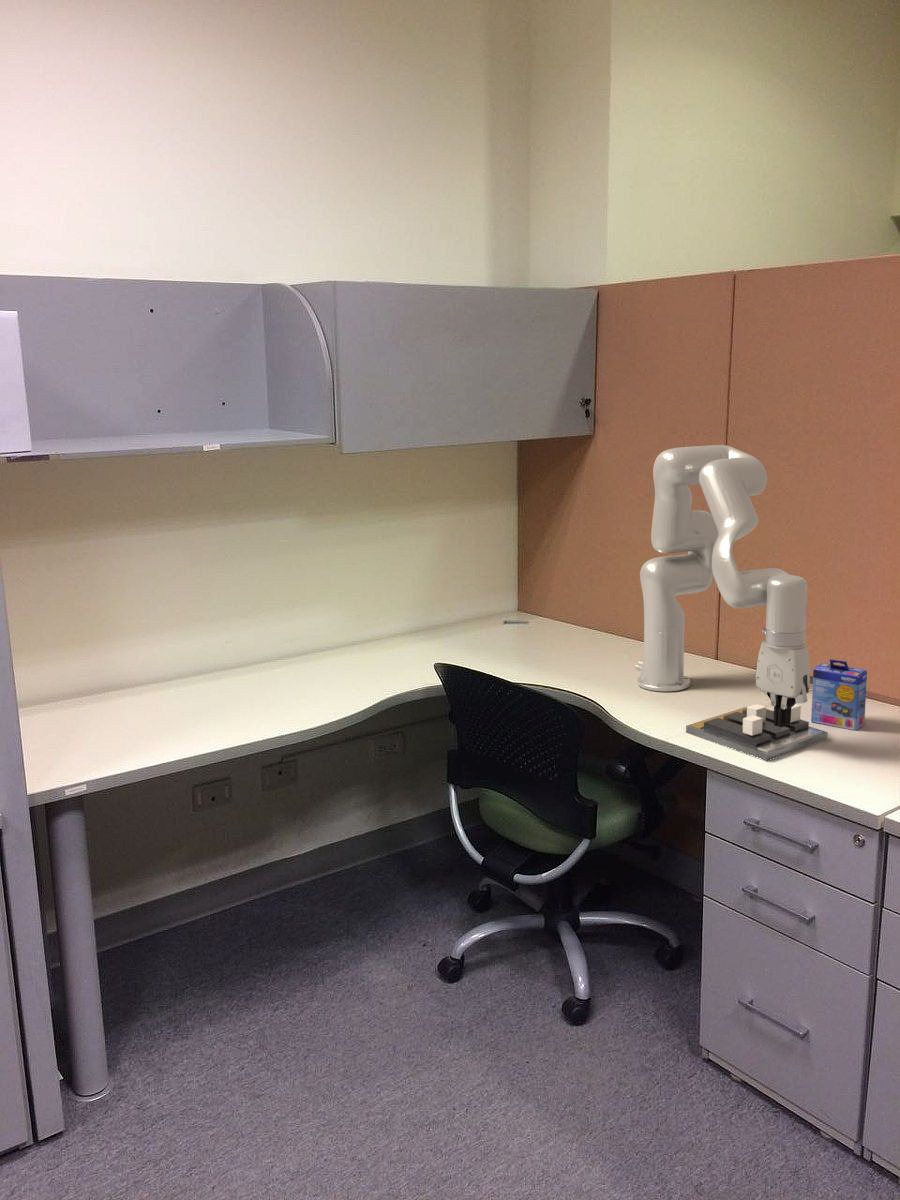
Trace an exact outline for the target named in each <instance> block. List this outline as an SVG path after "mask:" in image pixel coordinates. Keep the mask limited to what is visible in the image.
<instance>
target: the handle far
mask: <svg viewBox="0 0 900 1200" xmlns="http://www.w3.org/2000/svg"><path fill="white" fill-rule="evenodd" d="M801 707H802V705H800V704H798V703H796V704H795V705H794V706H793V707H791V721H790V722H794V721H797V720H800V719H801V712H802V711H801V709H802V708H801Z"/></svg>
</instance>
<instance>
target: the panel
mask: <svg viewBox="0 0 900 1200" xmlns="http://www.w3.org/2000/svg"><path fill="white" fill-rule="evenodd" d="M747 707H748V706H743V707H741V708H738V709H735V710H732V711H728V712H726V713H723V714H718V715H716V716H715V715H714V716H713V717H709V718H706V719H703V720H701V721H697V722H694V723H691V724H686V725H685V733H687V734H690V735H692V736H695V737H698V738H700V739H703V740H706V741H708V740H709V742H711V743H714V742H715V744H717V743H718V744H717V745H719V746H722V745H724V747H725V746H727V747H726V748H728V747H729V748H728V749H731V748H733V749H732V750H734V749H736V750H739V751H742V752H744V753H743V754H745V753H746V755H747V754H749V755H748V756H750V755H753V756H755V757H754V758H756V757H758V758H757V759H759V758H761V759H763V760H762V761H764V760H766V761H765V762H769V761H771V760H770V759H772V760H774V759H773V758H775V759H777V758H780V757H782V755H783V756H786V755H788V754H790V752H791V753H793V751H794V752H796V750H797V751H799V750H801V748H802V749H805V748H807V747H810V746H813V745H816V744H818V743H821V742H824V741H827V740H828V736H829V732H828V731H825V730H822V729H820V728H819V729H818V728H816V727H814V726H813V727H812V726H810V722H809V721H807V720H805V719H804V720H803V719H801V718H800V720H797V721H794V722H790V725H787V726H784V727H778V726H774V710H770V709H767V708H766V721H763V722H762V733H759V734H756V735H753V736H752V735H749V734H746V733H743V718H746V717H747ZM798 749H799V750H798ZM736 750H735V751H736ZM739 751H738V752H739ZM742 752H741V753H742ZM785 754H786V755H785ZM753 756H752V757H753ZM779 756H780V757H779ZM776 757H777V758H776ZM761 759H760V760H761ZM768 760H769V761H768Z"/></svg>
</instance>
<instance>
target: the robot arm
mask: <svg viewBox="0 0 900 1200" xmlns="http://www.w3.org/2000/svg"><path fill="white" fill-rule="evenodd" d="M652 469H653V470H652V477H653V484H654V503H653V512H652V520H651V521H652V522H651V532H650V533H651V534H650V541H651V546H652V548H653V549H654V550H655V552H658V553H662V554H674V555H666V556H658V557H654V558H650V559H648V560H647V561H645V562H644V563H643V565H642V566H641V568H640V572H639V579H640V580H639V581H640V586H641V592H642V598H643V623H644V626H643V629H644V630H643V635H644V637H643V651H644V652H643V660H642V659H641V660H639V661H638V662H637V663H636V664H635V665H634V670H636V671H640V676H638V677H637V679H636V681H637V685H638V686H639V687H641V688H643V689H645V690H648V691H652V692H653V691H654V692H664V693H665V692H678V691H682V690H685V689H687V688H689V687H690V685H691V680H690V678H689V677H688V676H686V675H684V672H685V671H684V670H685V669H684V667H685V664H684V663H685V613H684V609H683V608H682V606H681V605H680V603H679V601H678V600H677V598H676V597H677V596H681V595H688V594H696V593H701V592H705V591H706V590H707V589H708V588H709V587H710V586H711V584H712V581H713V578H714V581H715V583H716V586H717V588H718V590H719V591H718V592H719V593H720V596H721V597H722V599H723V601H724V602H725V604H727V605H728V606H729V607H731V608H733V609H738V610H740V609H748V608H754V607H755V608H756V607H763V606H764V607H765V606H766V609H765V610H766V611H765V626H764V627H762V630H761V633H762V634H764V635H765V637H764V639H765V640H763V641H761V644H760V648H759V650H758V656H757V662H756V663H757V664H756V671H755V672H756V673H755V685H756V687H757V688H758V689H759V691H760V692H761V693H763V694H765V695H767V697H768V698H769V700H770V704H771V706H772V707H773V711H774V726H778V727H784V726H787V725H790V721H791V707H793V706H794V705H795V704H804V703H807V702H808V693H809V691H810V687H811V664H810V656H809V655H810V654H809V649H808V646H807V645H806V629H807V628H806V627H807V625H806V623H807V601H808V583H807V581H806V579H805V578H804V577H802V576H799V575H794V574H789V572H786V571H785V570H783V569H782V568H777V567H768V568H757V569H749V570H741V571H739V568H738V566H737V564H736V561H735V558H734V555H733V554H734V553H733V548H734V547H733V546H734V543H735V542H736V541H739V540H740V539H742V538H743V537H745V536H747V535H749V534H750V533H752V531H754V530H755V529H756V527H757V526H758V524H759V515H758V514H757V512H756V509H755V506H754V505H753V503H752V500H751V498H750V497H754V496H757V495H760V494H762V493H763V491H765V490H766V487H767V483H768V474H767V471H766V468H765V466H764V465H763V463H762V462H761V461H760V460H759V459H758V458H756V457H755V456H754V455H751V454H749V453H747V452H744V451H742V450H740V449H737V448H735V447H732V446H730V445H727V444H726V445H725V444H712V445H697V446H696V445H694V446H683V447H674V448H673V447H672V448H668V449H666V450H664V451H662V452H660V453H659V454H658V455H657V456H656V458H655V461H654V463H653V468H652ZM691 485H693V486H694V485H700V487H701V488H700V489H701V491H702V493H703V496H704V498H705V501H706V504H707V507H708V509H709V511H710V512H709V511H706V510H701V509H700V510H697V509H696V510H692V505H693V494H692V490H691V489H690V487H689V486H691ZM677 553H679V554H677ZM680 553H685V554H680Z"/></svg>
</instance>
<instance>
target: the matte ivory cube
mask: <svg viewBox="0 0 900 1200" xmlns="http://www.w3.org/2000/svg"><path fill="white" fill-rule="evenodd" d="M746 707H747V717H749V716H752V715H754V716H757V717H760V718H763V720H762V722H763V721H766V709H767V707H766V706H764V705H760V704H756V703H755V704H752V705H749V706H746Z"/></svg>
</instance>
